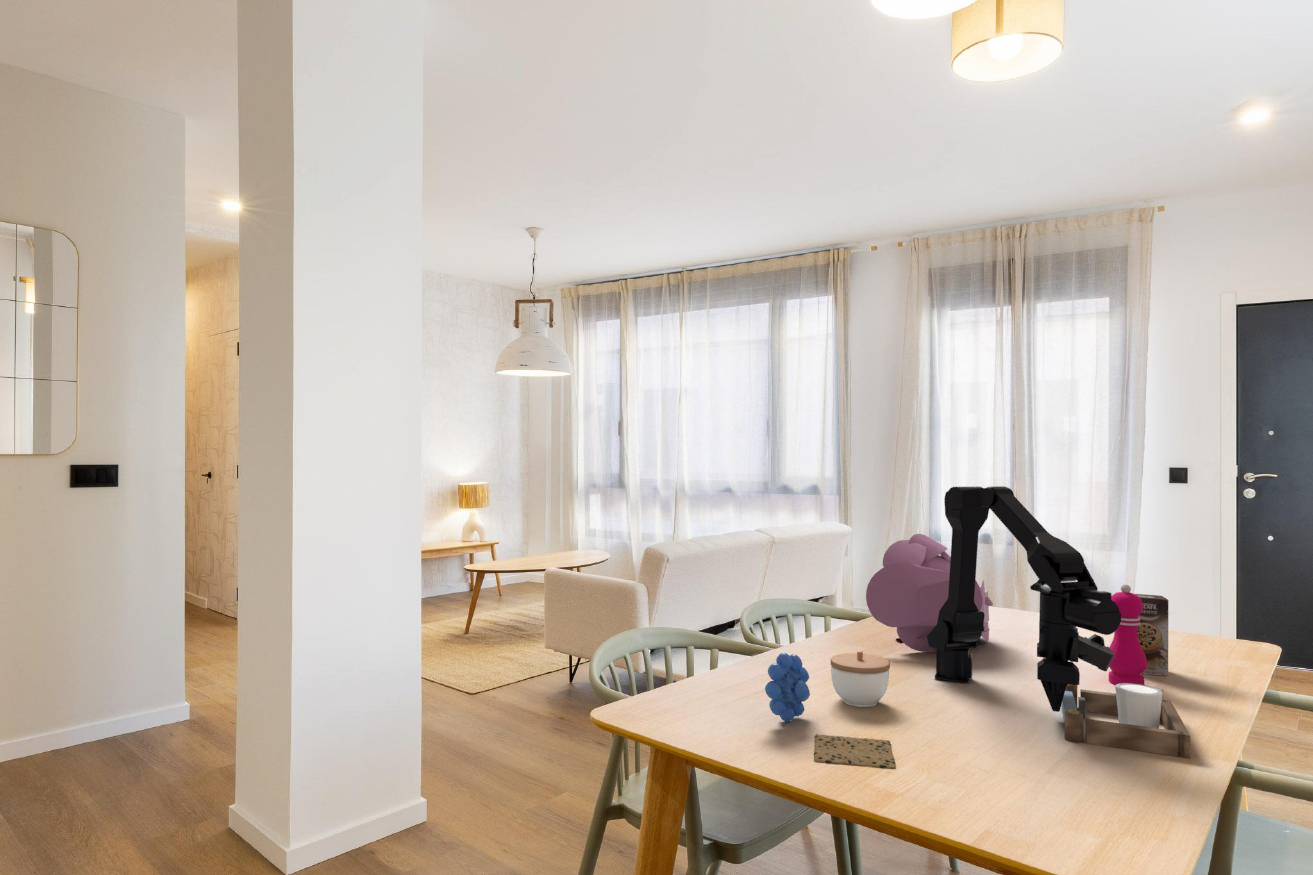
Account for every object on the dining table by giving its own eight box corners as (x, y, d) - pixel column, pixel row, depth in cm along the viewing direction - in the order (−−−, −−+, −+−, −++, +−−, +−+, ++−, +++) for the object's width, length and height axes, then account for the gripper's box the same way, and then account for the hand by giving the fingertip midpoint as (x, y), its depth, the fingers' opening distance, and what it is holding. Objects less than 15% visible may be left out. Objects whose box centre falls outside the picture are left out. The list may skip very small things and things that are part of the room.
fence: (1065, 740, 127) (1064, 712, 127) (1061, 704, 146) (1061, 679, 146) (1191, 759, 119) (1190, 728, 119) (1169, 718, 138) (1169, 691, 138)
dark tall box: (1119, 671, 168) (1119, 596, 169) (1114, 664, 174) (1114, 591, 175) (1169, 676, 165) (1169, 599, 165) (1163, 668, 171) (1162, 594, 171)
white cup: (1105, 723, 135) (1105, 682, 135) (1143, 722, 136) (1143, 682, 136) (1133, 738, 128) (1133, 694, 128) (1172, 737, 129) (1172, 694, 129)
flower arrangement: (920, 645, 212) (903, 540, 218) (1013, 639, 199) (992, 528, 205) (872, 658, 184) (854, 537, 190) (977, 652, 171) (954, 523, 177)
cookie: (890, 742, 127) (890, 736, 127) (897, 772, 115) (897, 765, 115) (814, 736, 129) (814, 730, 129) (813, 764, 117) (813, 758, 117)
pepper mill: (1153, 689, 155) (1152, 588, 156) (1113, 687, 157) (1112, 586, 157) (1138, 679, 162) (1138, 582, 163) (1100, 677, 164) (1100, 580, 164)
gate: (1066, 731, 130) (1066, 713, 130) (1060, 706, 143) (1060, 690, 143) (1078, 732, 129) (1078, 714, 129) (1072, 708, 142) (1071, 691, 142)
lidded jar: (837, 690, 153) (837, 642, 153) (894, 698, 149) (894, 648, 149) (824, 706, 144) (824, 654, 144) (884, 714, 139) (884, 661, 139)
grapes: (789, 736, 128) (789, 662, 128) (755, 726, 132) (756, 654, 133) (827, 719, 136) (828, 649, 136) (794, 710, 141) (795, 643, 141)
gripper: (1116, 638, 125) (1114, 736, 125) (1106, 615, 142) (1104, 701, 142) (1038, 630, 130) (1036, 724, 130) (1037, 608, 147) (1036, 691, 147)
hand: (1055, 710), depth 137 cm, fingers closed
